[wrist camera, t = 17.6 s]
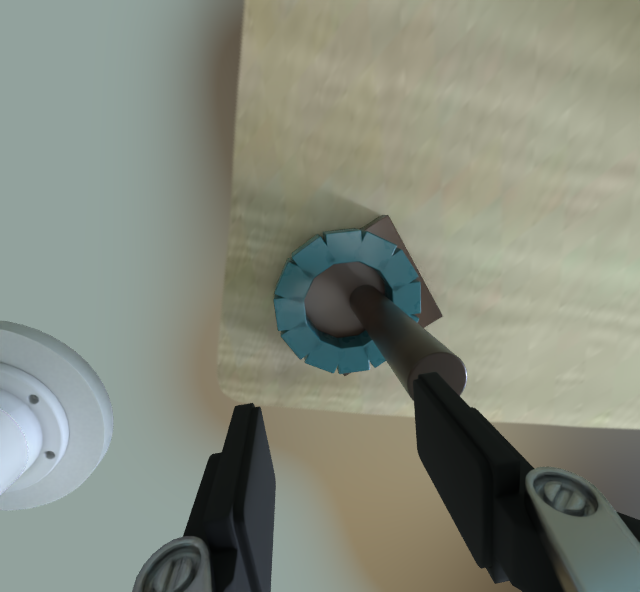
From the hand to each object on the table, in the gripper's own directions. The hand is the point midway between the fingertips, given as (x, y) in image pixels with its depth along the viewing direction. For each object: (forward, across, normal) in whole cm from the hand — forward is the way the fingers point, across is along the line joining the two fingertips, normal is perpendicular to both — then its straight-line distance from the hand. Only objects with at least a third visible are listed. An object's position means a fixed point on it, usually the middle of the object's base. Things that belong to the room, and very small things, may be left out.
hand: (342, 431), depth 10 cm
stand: (+15, -4, 0) cm, 16 cm away
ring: (+14, -2, 0) cm, 14 cm away
